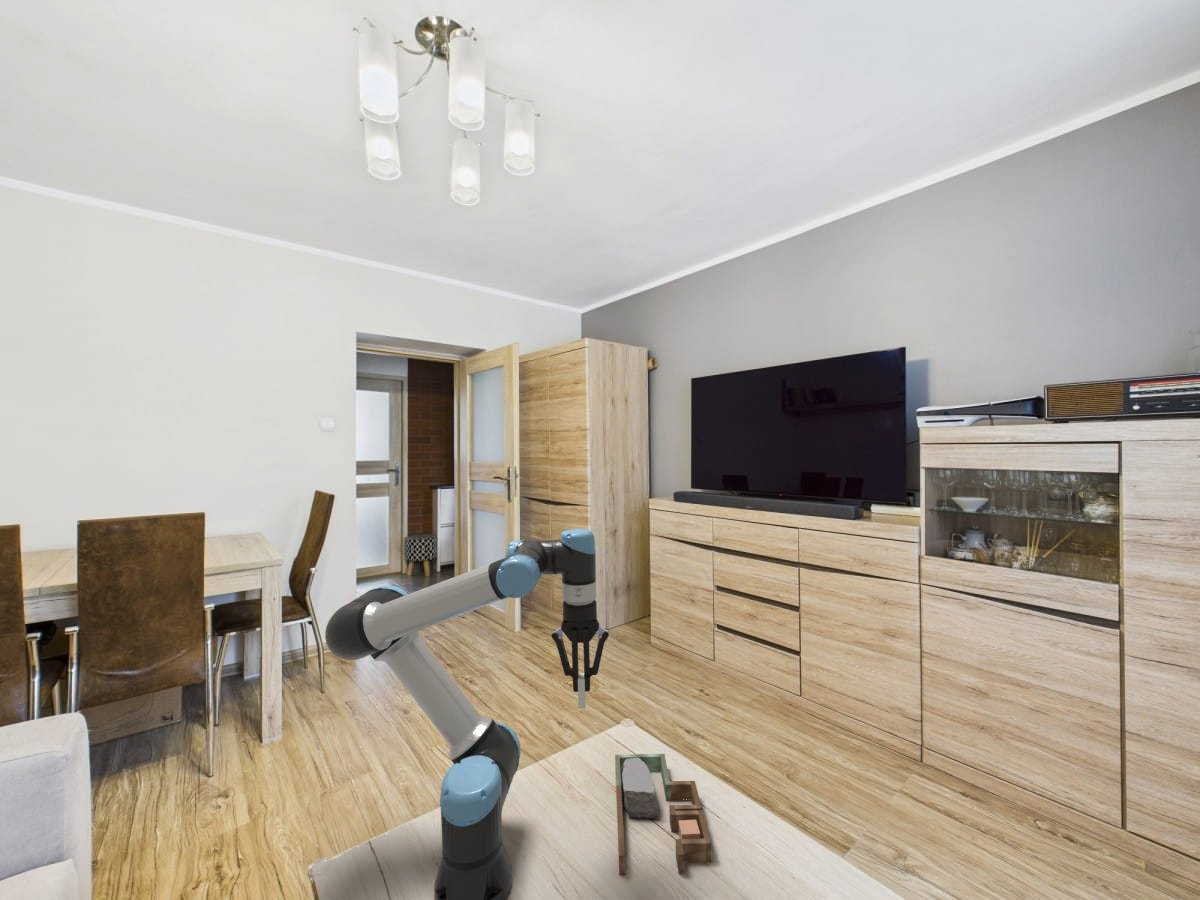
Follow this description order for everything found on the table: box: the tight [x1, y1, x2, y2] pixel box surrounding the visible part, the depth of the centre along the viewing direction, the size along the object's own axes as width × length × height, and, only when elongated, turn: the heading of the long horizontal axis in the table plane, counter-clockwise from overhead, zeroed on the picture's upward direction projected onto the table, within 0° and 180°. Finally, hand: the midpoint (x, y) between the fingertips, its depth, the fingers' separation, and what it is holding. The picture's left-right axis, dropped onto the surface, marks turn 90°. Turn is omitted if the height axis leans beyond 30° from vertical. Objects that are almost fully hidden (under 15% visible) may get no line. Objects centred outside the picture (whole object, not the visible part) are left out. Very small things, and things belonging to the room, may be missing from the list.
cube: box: [678, 820, 700, 839], centre depth 111 cm, size 4×4×4 cm
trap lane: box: [614, 753, 713, 876], centre depth 120 cm, size 20×33×4 cm, turn 0°
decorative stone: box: [621, 758, 659, 819], centre depth 124 cm, size 15×7×10 cm
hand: (582, 705), depth 113 cm, fingers closed
